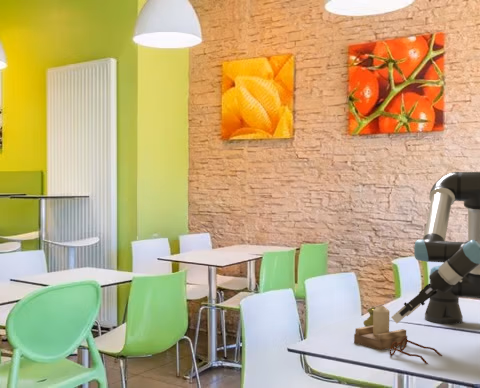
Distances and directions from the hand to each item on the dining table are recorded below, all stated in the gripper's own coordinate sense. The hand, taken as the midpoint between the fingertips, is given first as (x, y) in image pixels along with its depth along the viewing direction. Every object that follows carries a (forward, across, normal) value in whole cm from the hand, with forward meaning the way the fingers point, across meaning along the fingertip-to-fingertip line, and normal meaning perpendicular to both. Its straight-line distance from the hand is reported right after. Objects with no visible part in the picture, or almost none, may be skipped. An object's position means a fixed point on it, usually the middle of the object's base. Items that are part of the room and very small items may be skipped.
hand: (399, 316), depth 200 cm
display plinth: (+12, 0, -3) cm, 12 cm away
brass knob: (+17, +13, +2) cm, 21 cm away
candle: (+10, 0, -1) cm, 10 cm away
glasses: (+2, -9, -13) cm, 16 cm away
